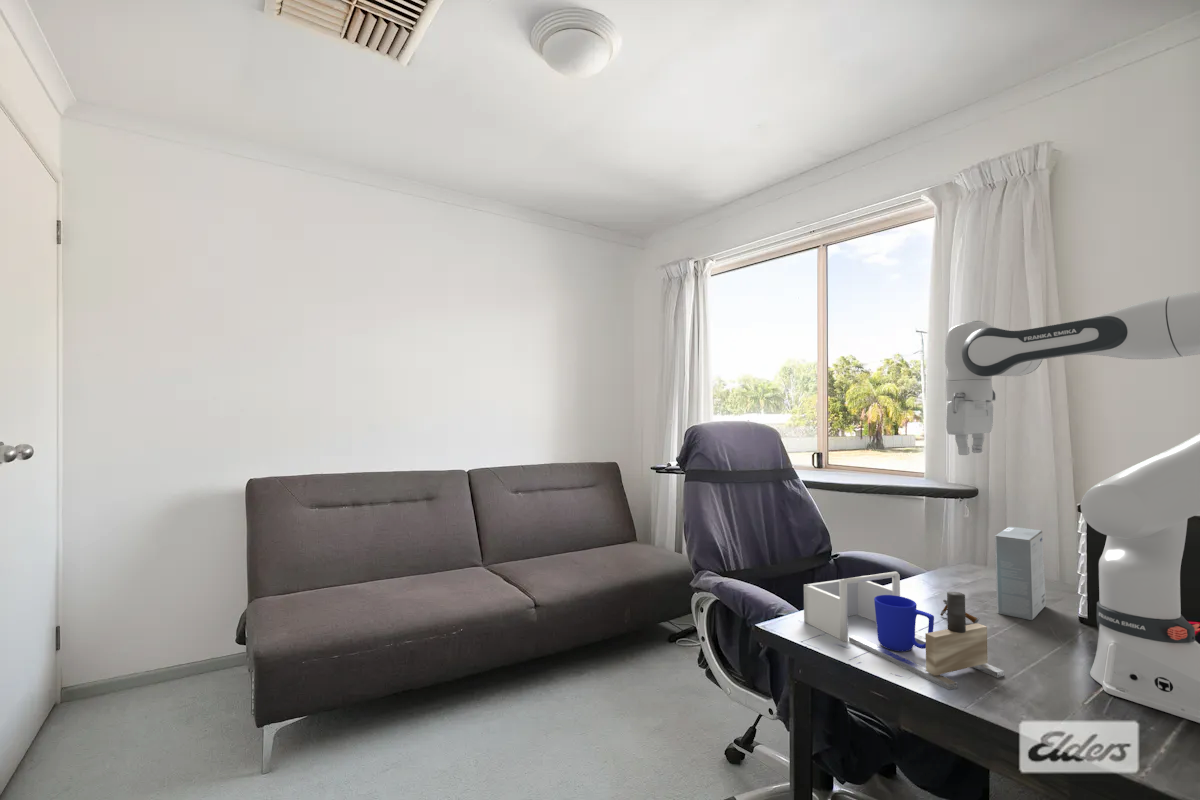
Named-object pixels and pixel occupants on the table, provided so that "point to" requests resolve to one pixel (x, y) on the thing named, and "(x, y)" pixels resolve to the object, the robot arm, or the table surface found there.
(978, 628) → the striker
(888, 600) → the mug
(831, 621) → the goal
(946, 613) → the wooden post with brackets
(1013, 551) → the hard drive box
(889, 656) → the rails
